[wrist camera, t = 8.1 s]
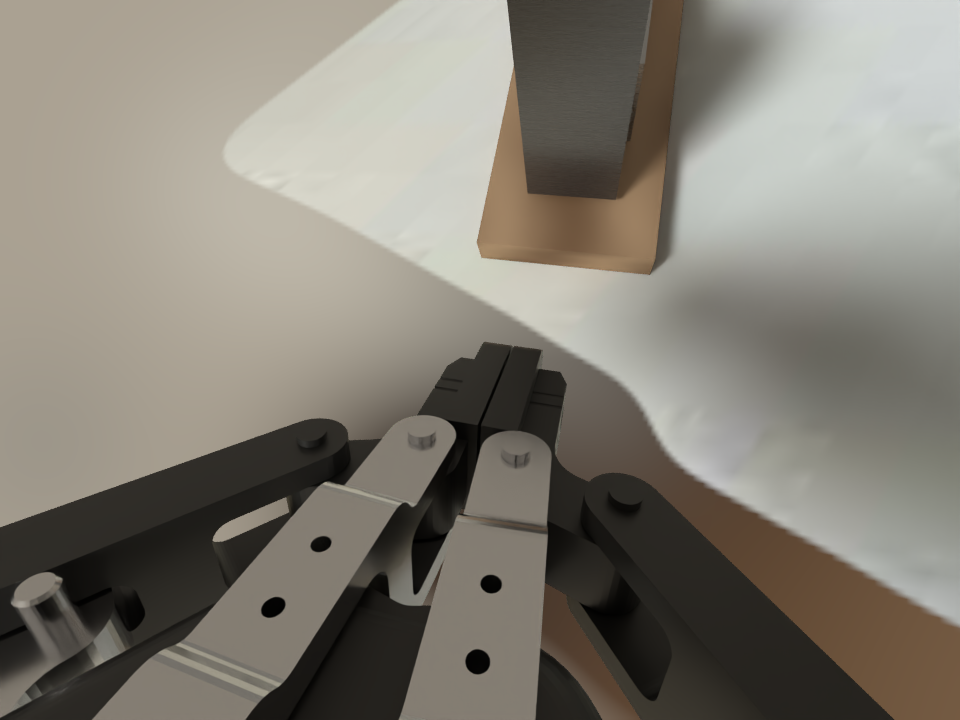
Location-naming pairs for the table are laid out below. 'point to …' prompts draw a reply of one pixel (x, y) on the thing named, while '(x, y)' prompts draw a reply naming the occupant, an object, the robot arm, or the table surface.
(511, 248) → the guide board
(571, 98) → the brushed grey metal block
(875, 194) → the table surface
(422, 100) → the table surface
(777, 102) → the table surface
